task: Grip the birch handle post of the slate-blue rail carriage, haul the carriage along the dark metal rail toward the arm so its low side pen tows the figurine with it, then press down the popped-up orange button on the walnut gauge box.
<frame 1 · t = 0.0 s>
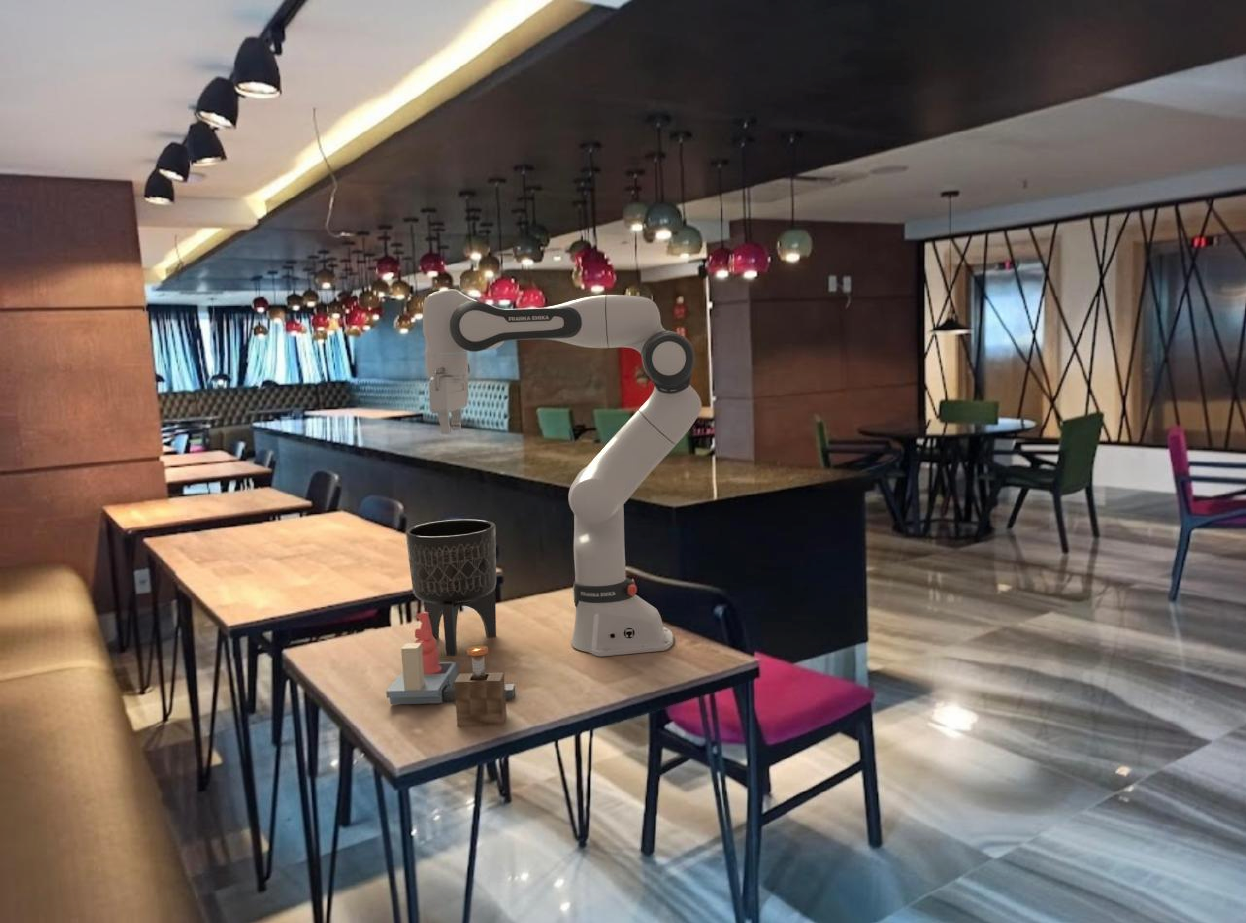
hand: (451, 431, 194), 48 cm above the table, fingers open, 8 cm apart
rail: (456, 698, 170), on the table
gauge box: (482, 720, 159), on the table
figurine: (429, 686, 177), resting in carriage
button: (478, 667, 158), point 10 cm above the table, slide at 4.0 cm
carriage: (422, 663, 173), point 6 cm above the table, slide at 0.0 cm
planter: (458, 643, 203), on the table
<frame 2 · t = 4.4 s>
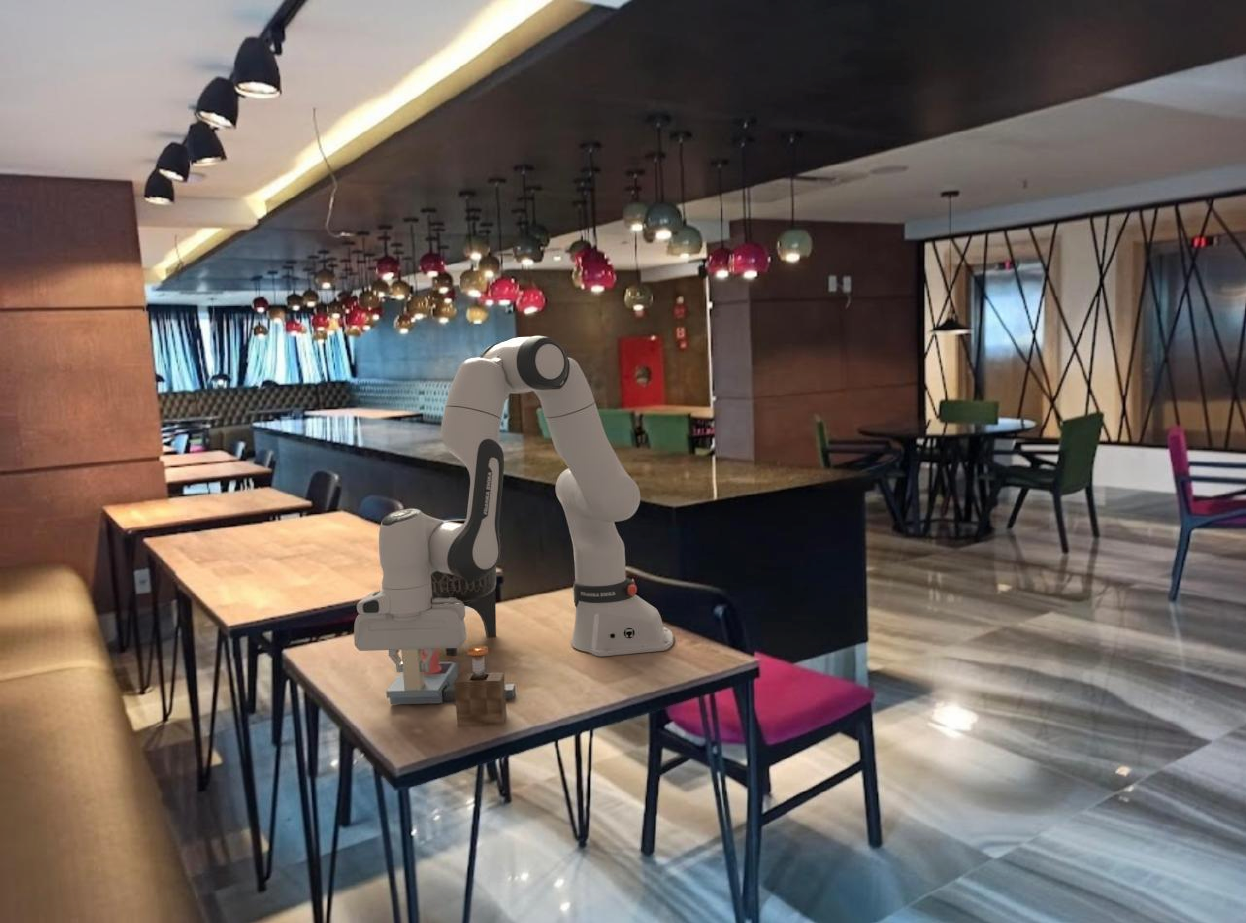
hand: (413, 671, 167), 7 cm above the table, fingers closed on carriage, 3 cm apart
carriage: (422, 663, 173), point 6 cm above the table, slide at 0.0 cm, touching gripper
everything else where it was.
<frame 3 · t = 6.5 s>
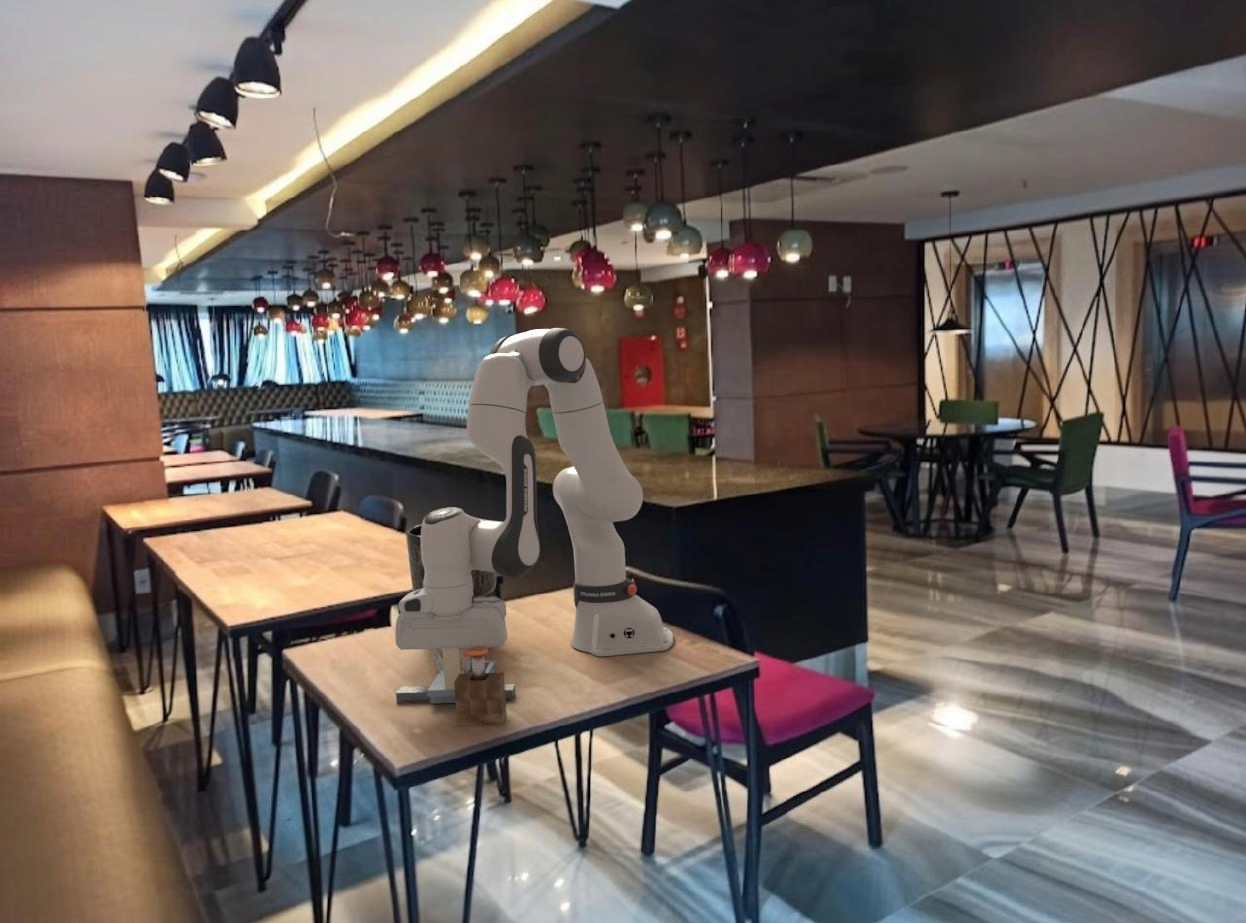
hand: (454, 670, 166), 7 cm above the table, fingers closed on carriage, 3 cm apart
figurine: (456, 685, 177), resting in carriage
carriage: (461, 662, 172), point 6 cm above the table, slide at 7.6 cm, touching figurine, gripper
everything else where it was.
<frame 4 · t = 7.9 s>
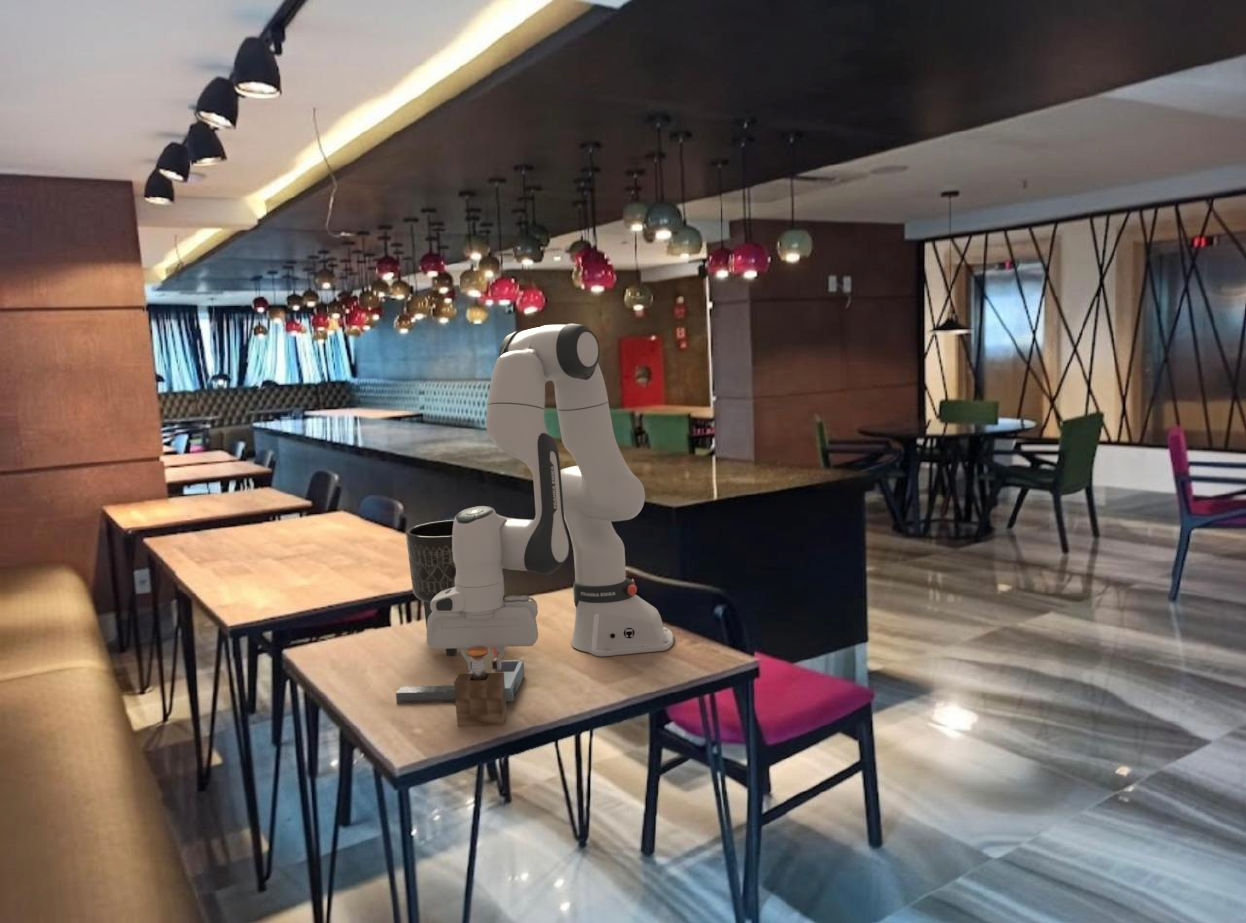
hand: (485, 669, 166), 7 cm above the table, fingers closed on carriage, 3 cm apart
figurine: (485, 684, 177), resting in carriage
carriage: (491, 661, 172), point 6 cm above the table, slide at 13.4 cm, touching figurine, gripper
everything else where it was.
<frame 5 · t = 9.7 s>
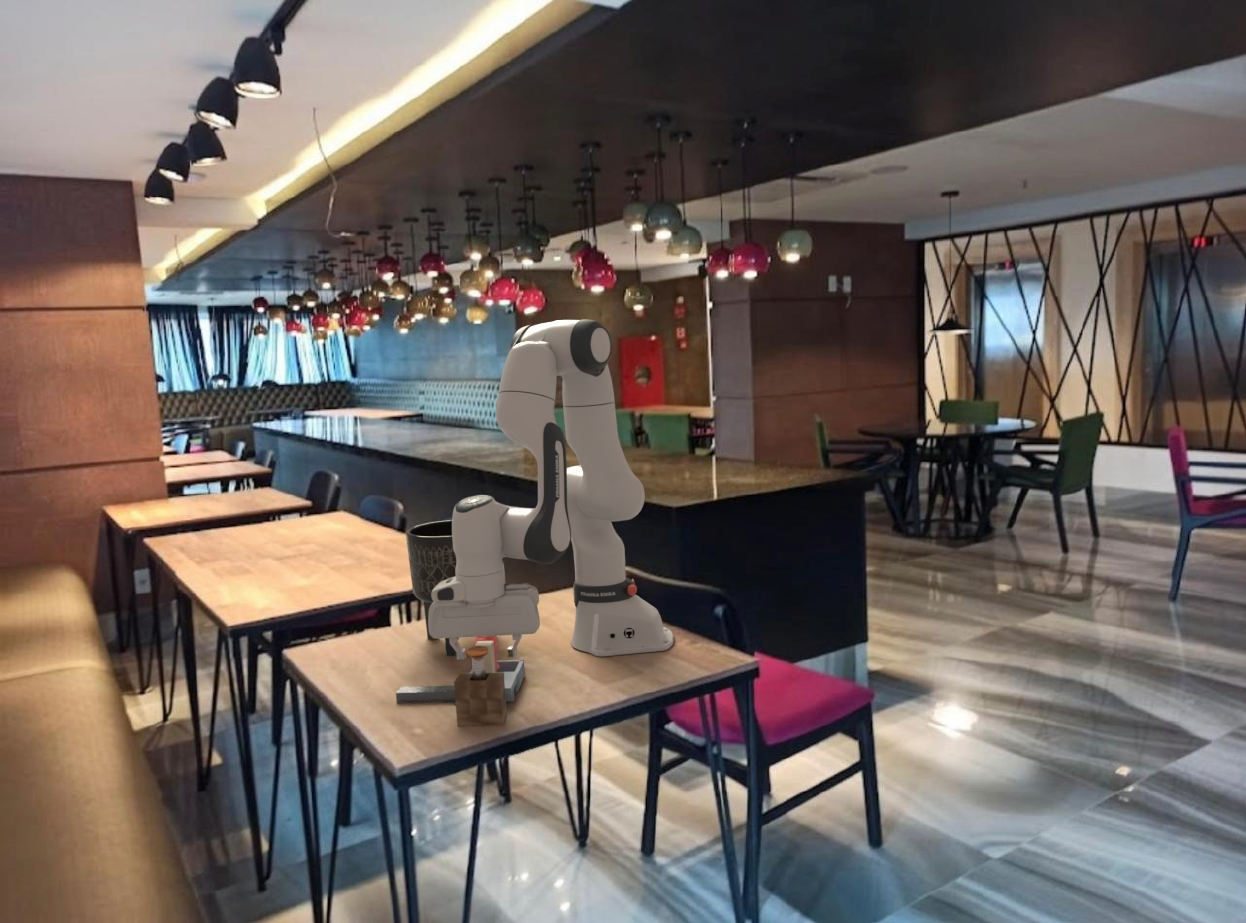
hand: (487, 657, 166), 9 cm above the table, fingers open, 8 cm apart
figurine: (486, 684, 177), resting in carriage
carriage: (492, 661, 172), point 6 cm above the table, slide at 13.5 cm, touching figurine
everything else where it was.
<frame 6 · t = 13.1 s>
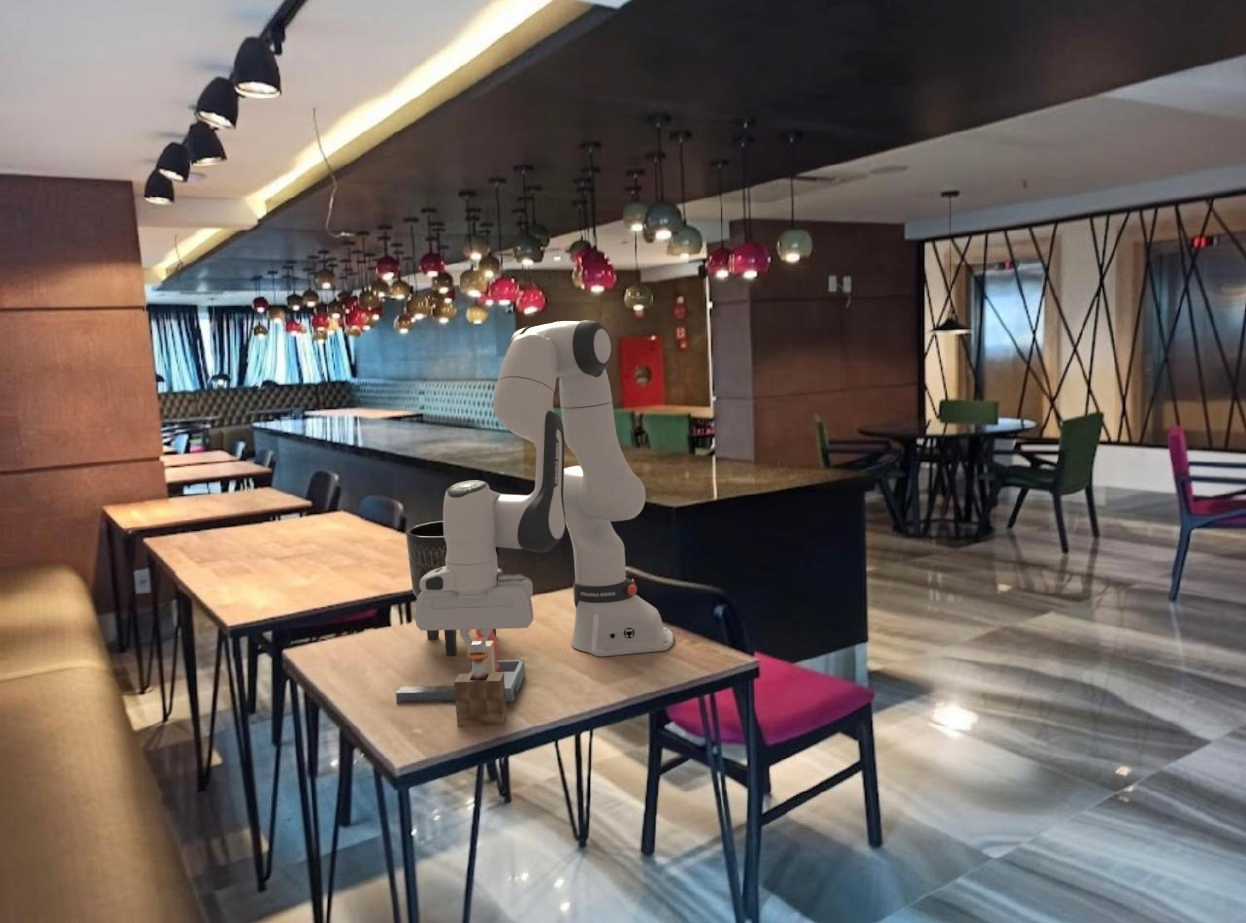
hand: (477, 652, 157), 13 cm above the table, fingers closed, pressing on button
button: (478, 671, 158), point 9 cm above the table, slide at 3.4 cm, touching gripper
everything else where it was.
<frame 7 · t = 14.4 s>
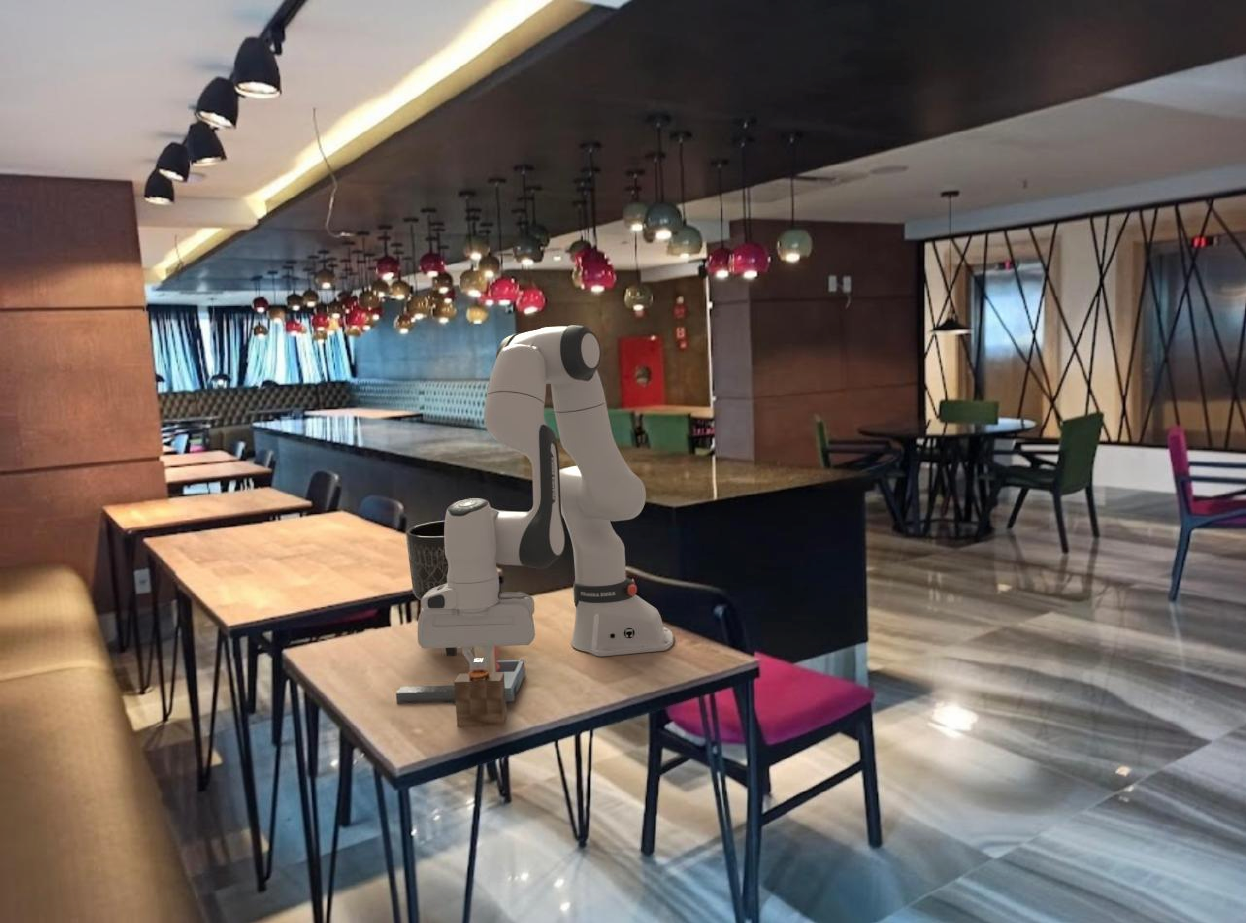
hand: (479, 669, 158), 9 cm above the table, fingers closed
button: (480, 689, 158), point 6 cm above the table, slide at 0.1 cm
everything else where it was.
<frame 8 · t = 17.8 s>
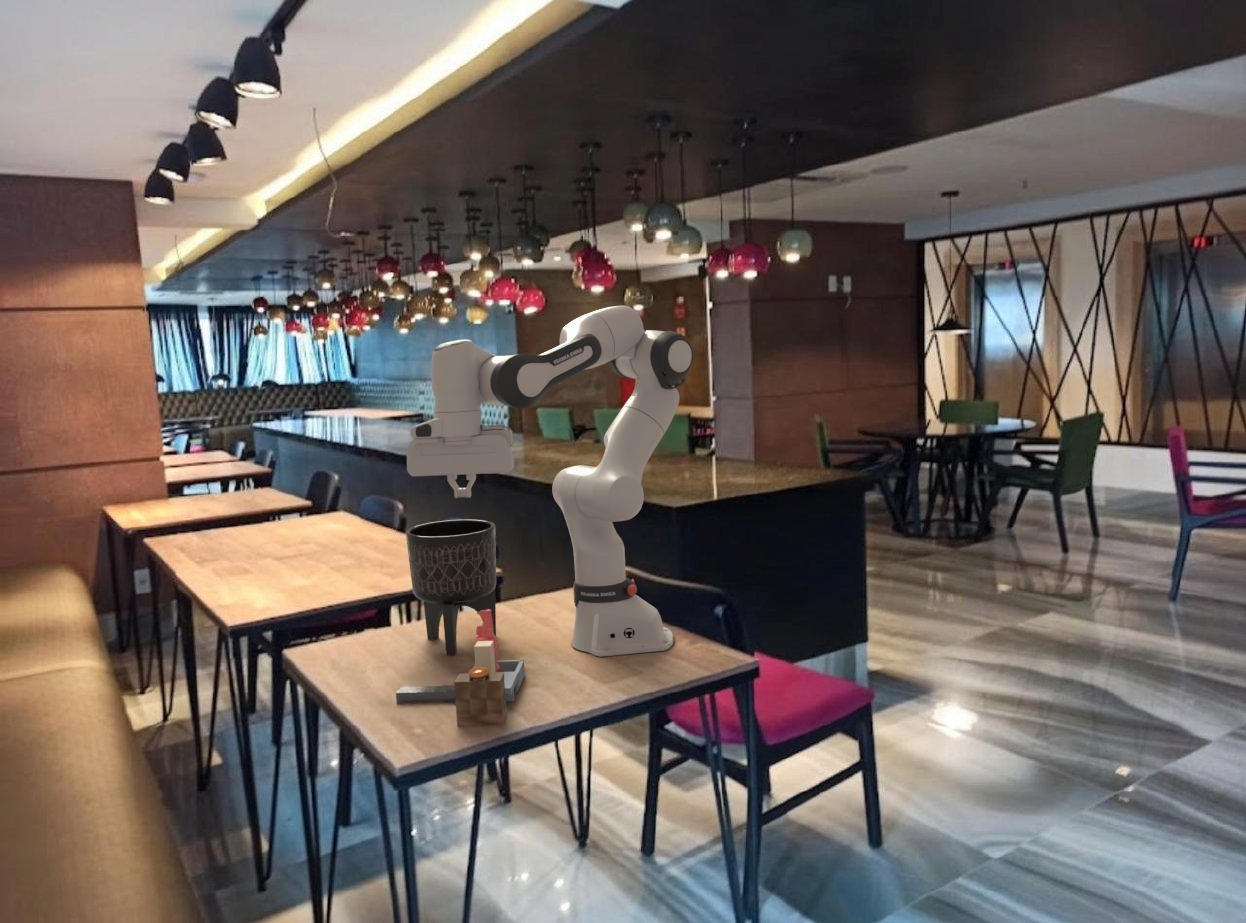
hand: (463, 497, 173), 37 cm above the table, fingers closed
nothing on the table moved.
at the end: carriage slide at 13.5 cm; button slide at 0.1 cm; figurine inside the target area on the carriage (2.0 cm from its centre), point 0.0 cm above the carriage's base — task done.
